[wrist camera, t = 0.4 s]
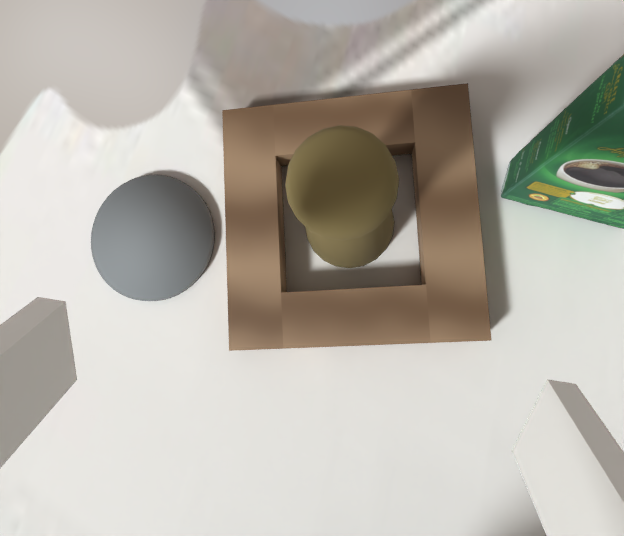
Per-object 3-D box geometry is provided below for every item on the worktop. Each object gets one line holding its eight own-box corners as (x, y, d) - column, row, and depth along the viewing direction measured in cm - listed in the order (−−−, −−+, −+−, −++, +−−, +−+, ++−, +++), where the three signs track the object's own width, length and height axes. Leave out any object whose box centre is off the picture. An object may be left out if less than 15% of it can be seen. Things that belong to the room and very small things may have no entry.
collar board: (482, 338, 27) (491, 340, 25) (238, 347, 29) (229, 350, 27) (460, 99, 28) (467, 83, 26) (231, 123, 30) (222, 110, 28)
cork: (338, 164, 29) (322, 77, 18) (412, 211, 28) (441, 150, 17) (288, 235, 29) (241, 191, 18) (360, 285, 28) (356, 271, 17)
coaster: (216, 297, 29) (213, 297, 29) (95, 304, 30) (90, 304, 30) (212, 172, 30) (210, 169, 30) (96, 182, 31) (91, 180, 31)
